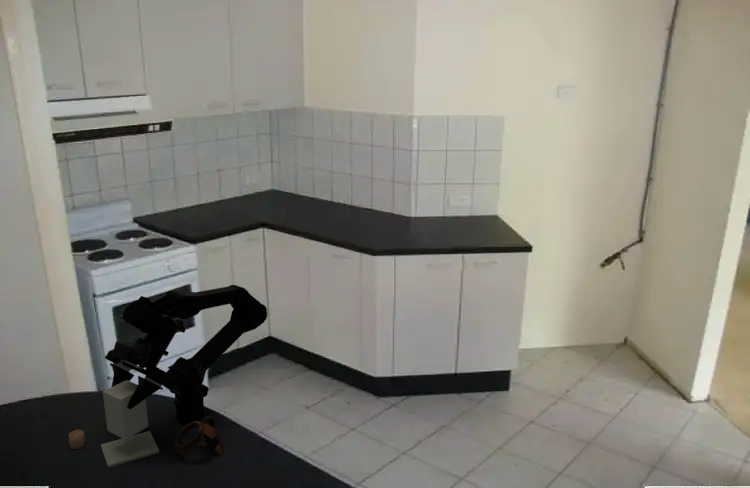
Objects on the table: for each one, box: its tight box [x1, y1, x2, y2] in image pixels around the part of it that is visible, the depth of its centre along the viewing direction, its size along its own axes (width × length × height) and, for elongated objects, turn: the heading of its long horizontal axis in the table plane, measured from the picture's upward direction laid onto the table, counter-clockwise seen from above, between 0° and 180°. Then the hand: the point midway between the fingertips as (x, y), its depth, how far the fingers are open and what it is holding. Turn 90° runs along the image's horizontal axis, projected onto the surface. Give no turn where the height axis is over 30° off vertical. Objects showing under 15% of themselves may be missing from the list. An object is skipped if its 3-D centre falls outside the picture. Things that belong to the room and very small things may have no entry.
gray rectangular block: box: [102, 380, 149, 440], centre depth 142 cm, size 6×6×10 cm
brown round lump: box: [68, 429, 86, 450], centre depth 146 cm, size 3×3×3 cm
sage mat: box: [100, 430, 160, 468], centre depth 145 cm, size 11×9×1 cm
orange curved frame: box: [174, 415, 224, 457], centre depth 146 cm, size 12×10×8 cm
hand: (119, 403), depth 141 cm, fingers closed on gray rectangular block, 6 cm apart
